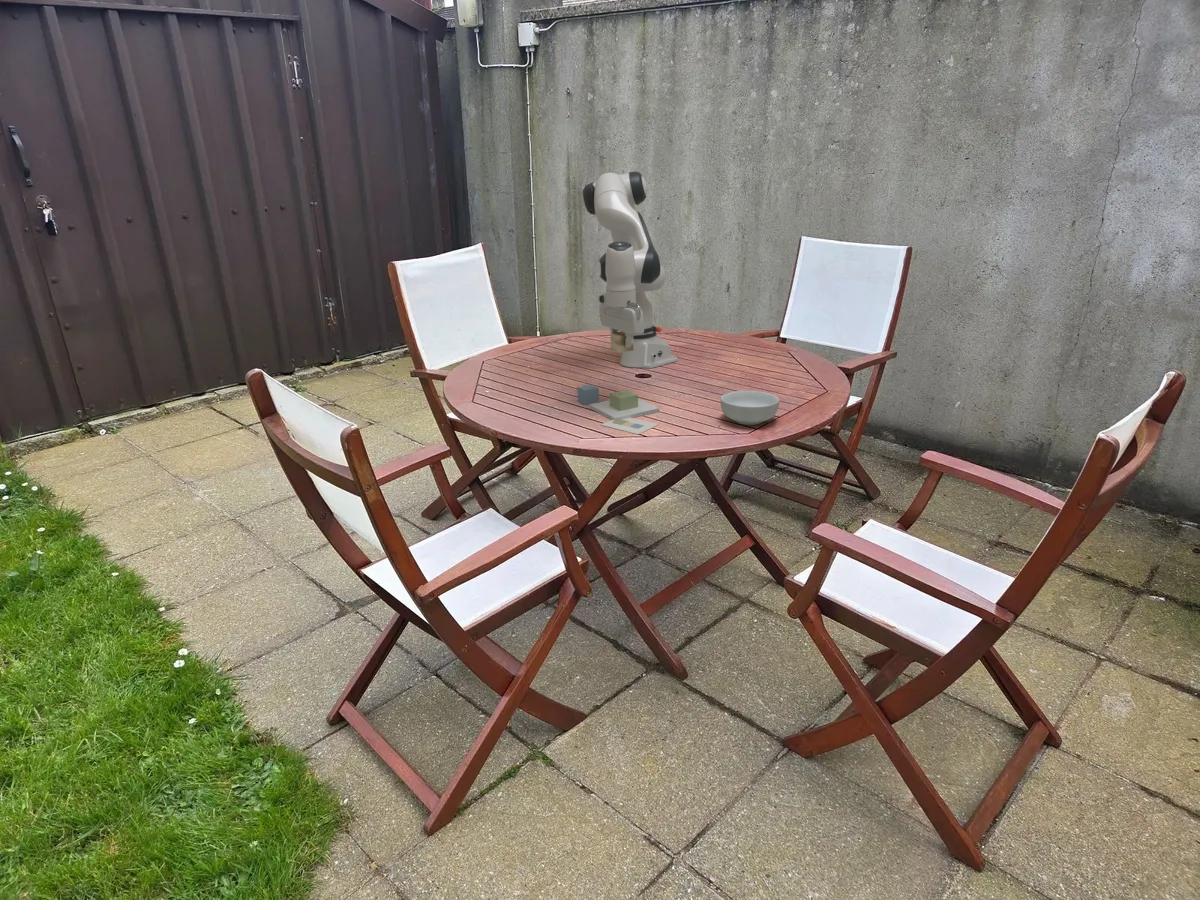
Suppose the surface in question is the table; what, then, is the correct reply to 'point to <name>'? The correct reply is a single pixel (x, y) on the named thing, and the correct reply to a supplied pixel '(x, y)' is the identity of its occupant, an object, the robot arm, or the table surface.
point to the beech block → (619, 342)
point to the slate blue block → (588, 394)
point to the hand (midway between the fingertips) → (622, 344)
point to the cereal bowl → (749, 406)
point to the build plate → (625, 413)
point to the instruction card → (630, 425)
